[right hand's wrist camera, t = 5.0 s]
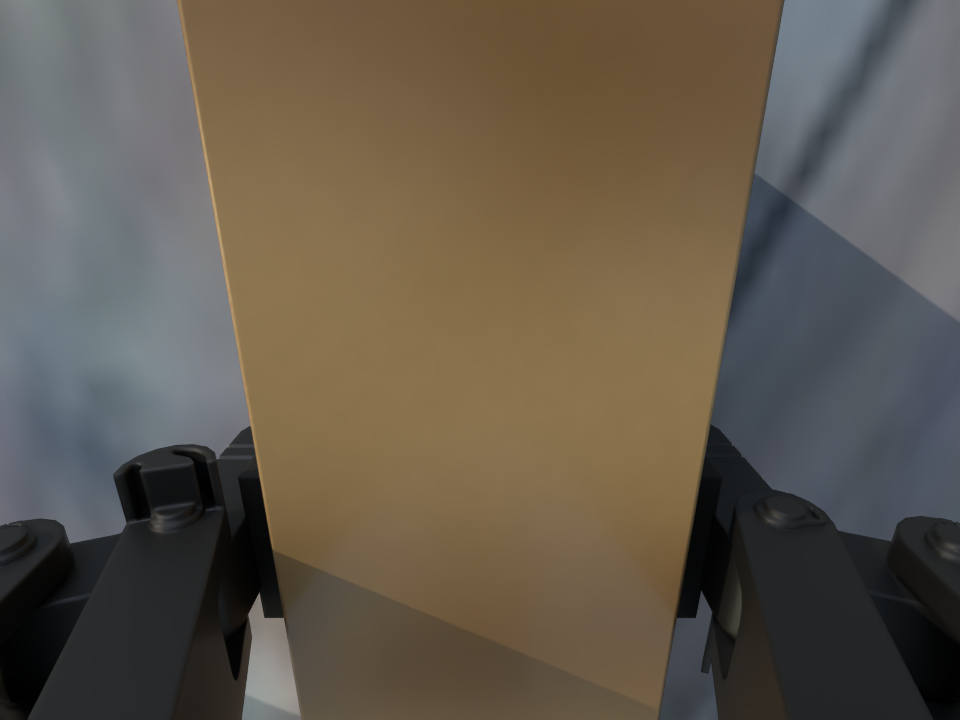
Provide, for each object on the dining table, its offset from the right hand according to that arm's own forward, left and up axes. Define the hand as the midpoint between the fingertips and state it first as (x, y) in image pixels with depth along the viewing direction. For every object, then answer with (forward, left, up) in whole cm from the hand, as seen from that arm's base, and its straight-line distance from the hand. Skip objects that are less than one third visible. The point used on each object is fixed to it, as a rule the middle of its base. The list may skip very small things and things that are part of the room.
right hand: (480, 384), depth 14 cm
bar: (+2, +18, -1) cm, 18 cm away
